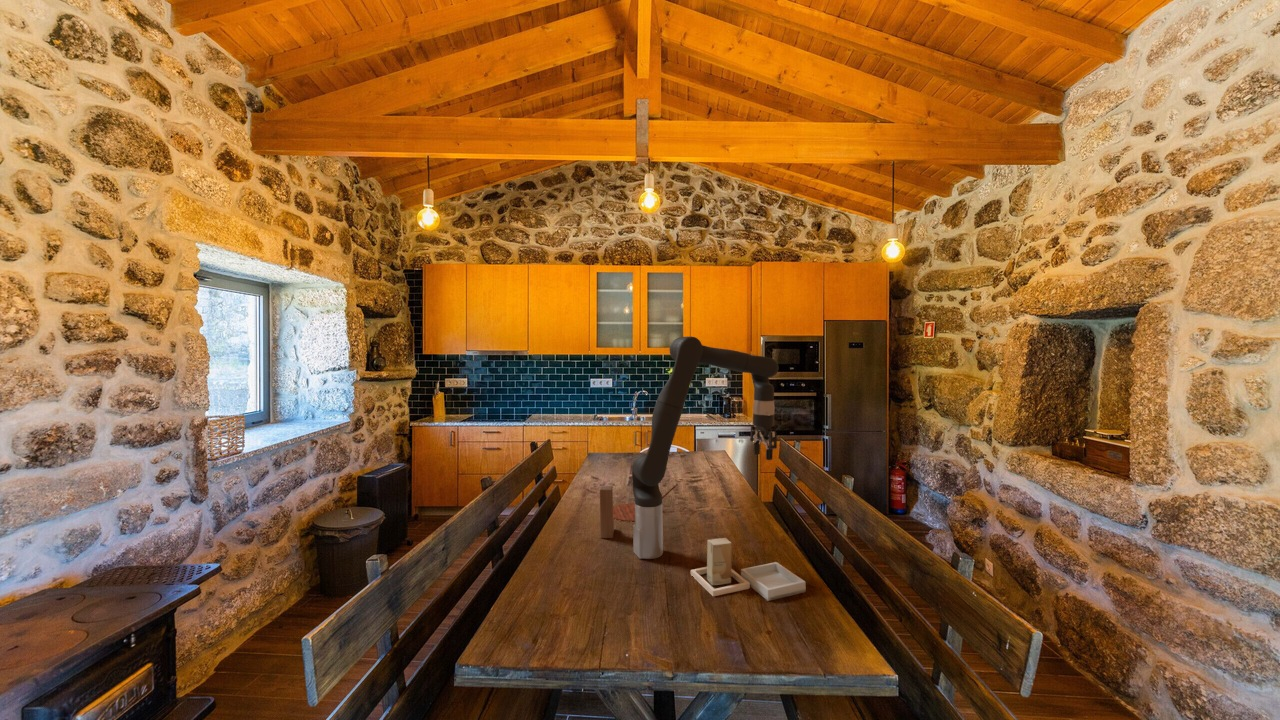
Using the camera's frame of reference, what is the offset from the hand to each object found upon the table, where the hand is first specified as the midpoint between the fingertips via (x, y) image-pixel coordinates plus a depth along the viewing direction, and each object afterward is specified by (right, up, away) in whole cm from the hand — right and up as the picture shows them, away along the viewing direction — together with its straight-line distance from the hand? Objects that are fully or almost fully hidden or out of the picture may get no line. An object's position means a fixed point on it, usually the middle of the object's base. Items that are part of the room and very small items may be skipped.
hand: (762, 457), depth 181 cm
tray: (-6, -30, -36) cm, 47 cm away
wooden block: (-57, -30, +5) cm, 64 cm away
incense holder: (-43, -29, +28) cm, 59 cm away
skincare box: (-21, -31, -33) cm, 50 cm away
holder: (-21, -31, -33) cm, 50 cm away
